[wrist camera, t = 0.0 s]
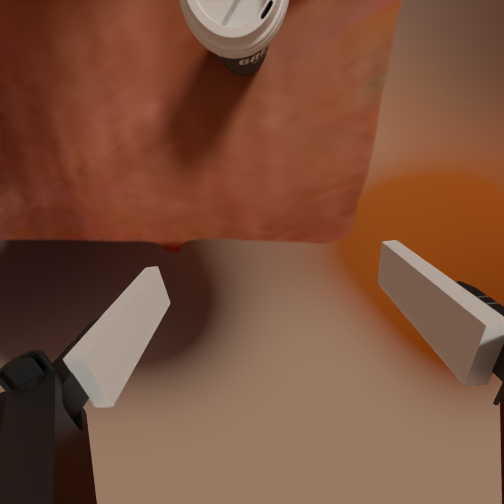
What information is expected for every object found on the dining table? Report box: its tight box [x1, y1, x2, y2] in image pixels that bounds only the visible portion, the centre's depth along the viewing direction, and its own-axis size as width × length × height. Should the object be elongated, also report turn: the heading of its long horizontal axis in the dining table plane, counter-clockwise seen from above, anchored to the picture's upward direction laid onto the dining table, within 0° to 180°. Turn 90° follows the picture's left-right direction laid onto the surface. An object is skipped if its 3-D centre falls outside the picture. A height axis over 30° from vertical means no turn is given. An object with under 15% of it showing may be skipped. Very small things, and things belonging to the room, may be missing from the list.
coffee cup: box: [179, 0, 289, 75], centre depth 25 cm, size 10×10×15 cm
